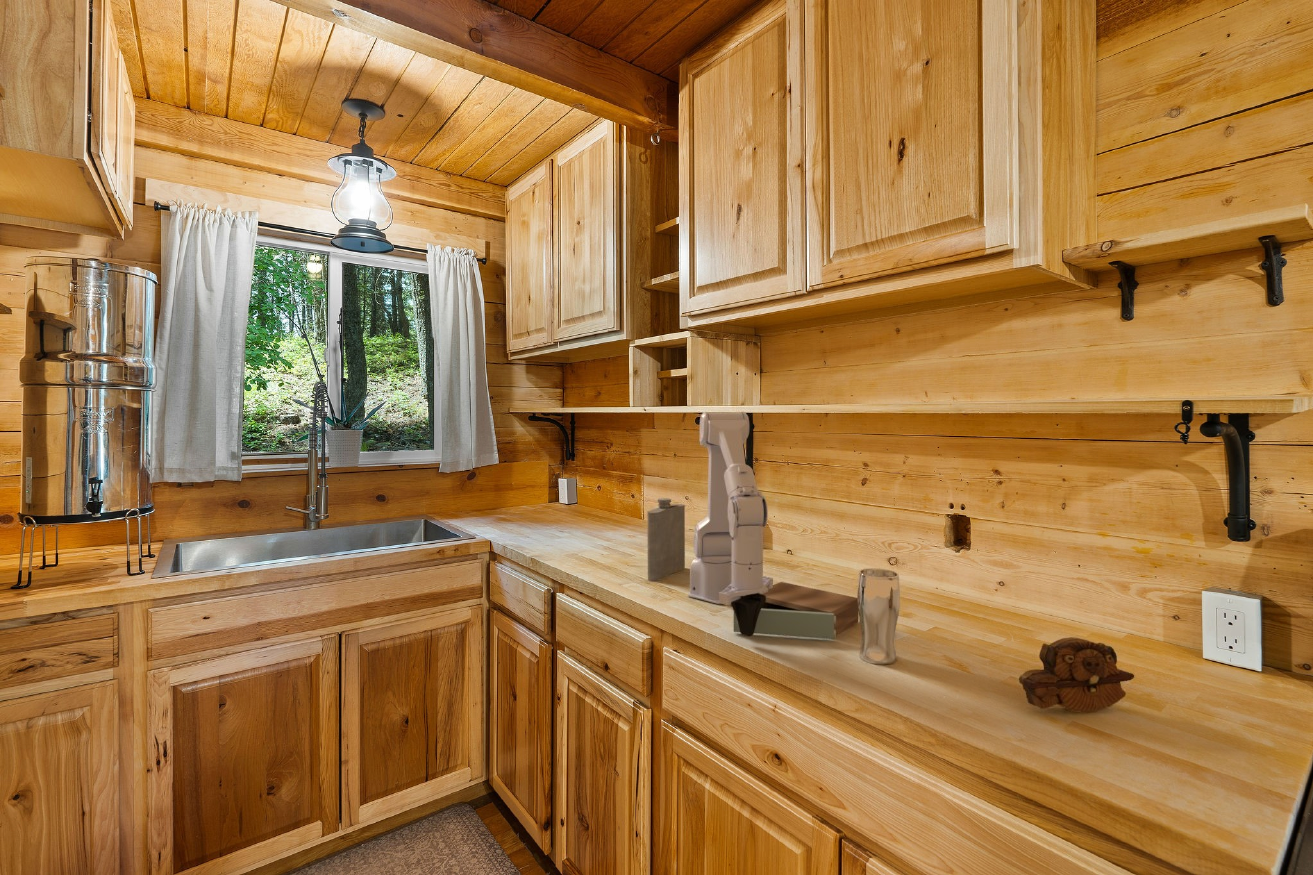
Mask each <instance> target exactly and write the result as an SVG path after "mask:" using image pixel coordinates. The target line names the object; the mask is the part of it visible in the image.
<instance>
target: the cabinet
mask: <svg viewBox="0 0 1313 875" xmlns="http://www.w3.org/2000/svg"><path fill="white" fill-rule="evenodd" d="M759 594H762V595H765V596H766V601H765V603H764V604H763V606H762V609H777V610H792V611H808V612H823V613H834V616H836V623H835V624H834V630H836V636H837V635H839V634H840V633H841V634H842V633H843V632H844V631H845V630H848V629H849V628H851V627H853V626H855V625H857V624H858V623H859V611H858V602H857V597H855V596H850V595H845V594H843V593H842V594H841V593H837V592H830V591H827V590H821V589H816V588H812V587H809V586H808V587H807V586H803V585H797V584H793V583H789V582H784V581H781V582H778V583H777V582H776V583H775V584H774V583H773V588H771V589H768V592H765V593H759Z"/></svg>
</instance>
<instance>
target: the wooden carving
mask: <svg viewBox="0 0 1313 875" xmlns="http://www.w3.org/2000/svg"><path fill="white" fill-rule="evenodd" d="M1038 657H1039V659H1040V661H1041V663H1042V666H1043V669H1041V668H1040V669H1036V668H1035V669H1029V670H1026V671H1024V672H1023V674H1020V676H1019V677H1018V681H1019V684H1021V685H1022V689H1023V691H1024V692H1025V695H1026V696H1025V698H1026V699H1027V702H1028V704H1030V705H1032V706H1036V707H1038V708H1039V709H1045V710H1046V709H1049V708H1051V707H1054V706H1060V707H1062V708H1064V709H1066V710H1068V711H1071V712H1075V713H1092V712H1097V711H1102V710H1105V709H1108V708H1109V707H1111V706H1113V705H1115V704H1116V703H1118V702H1120V700H1122V699H1123V698H1124V697H1125V696H1126V691H1124V689H1123V688H1122V682H1128V681H1130V680H1134V678H1135V673H1132V672H1128V671H1126V670H1123V669H1119V668H1118V667H1117V662H1118V656H1117V654H1116V652H1115V650H1114V648H1113V647H1112V646H1110V645H1106V644H1105V643H1103V642H1098V643H1096V642H1094V641H1091V640H1088V639H1083V638H1079V637H1071V636H1070V637H1062V638H1060V639H1057V640H1055V641H1053V642H1051V643H1050V644H1047V643H1044V642H1043V644H1042V645H1041V649H1040V650H1039V656H1038Z"/></svg>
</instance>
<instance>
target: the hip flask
mask: <svg viewBox="0 0 1313 875" xmlns="http://www.w3.org/2000/svg"><path fill="white" fill-rule="evenodd" d="M657 503H658V507H657V508H653V509H650V510H649V511H647V512H646V514H647V518H646V519H647V523H646V524H647V525H646V526H647V530H646V531H647V532H646V533H647V581H649V582H659V581H661V580H662V579H663V578H666V577H667V576H670V575H671V574H675V573H677V572H681V571H684V570H685V569H686V561H685V560H686V559H685V558H686V555H685V554H686V552H685V551H686V547H685V546H686V544H685V543H686V540H685V539H686V538H685V537H686V529H685V528H686V523H685V520H686V518H685V514H686V513H685V512H686V511H685V510H686V509H685V506H686V505H685V504H682V503H679V504H677V503H676V504H675V503H674V504H672V499H671V498H665V497H662V498H658V499H657ZM674 572H675V573H674ZM665 576H666V577H665ZM660 579H661V580H660Z"/></svg>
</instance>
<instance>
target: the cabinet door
mask: <svg viewBox="0 0 1313 875" xmlns="http://www.w3.org/2000/svg"><path fill="white" fill-rule="evenodd" d="M835 623H836V616H834V613H823V612H808V611H792V610H777V609H762V608H761V610H760V613H759V616H758V619H757V623H756V627H755V631H754V634H758V635H769V636H770V635H771V636H783V637H784V636H785V637H786V636H787V637H796V638H813V639H822V640H823V639H824V640H825V639H826V640H835V638H836V636H837V635H836V630H834V624H835ZM733 633H740V629H739V625H738V621H737V617H736V614H735V612H734V611H733Z"/></svg>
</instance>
